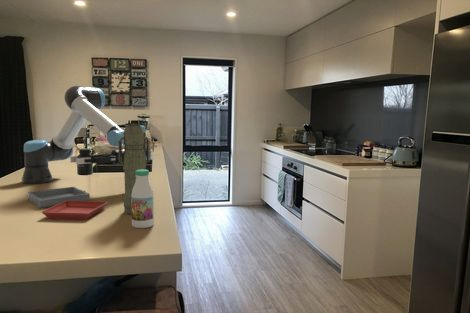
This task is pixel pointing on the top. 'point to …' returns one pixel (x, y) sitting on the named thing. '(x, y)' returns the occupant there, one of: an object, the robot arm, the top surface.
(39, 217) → the top surface
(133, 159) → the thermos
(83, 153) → the supplement bottle
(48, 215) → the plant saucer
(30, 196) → the tray
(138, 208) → the milk bottle
